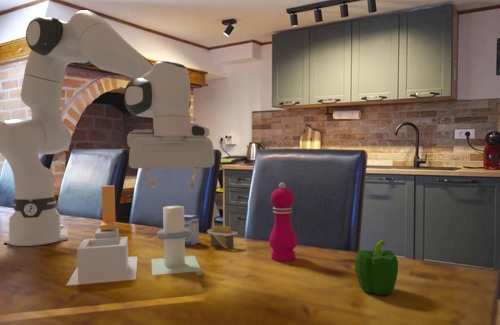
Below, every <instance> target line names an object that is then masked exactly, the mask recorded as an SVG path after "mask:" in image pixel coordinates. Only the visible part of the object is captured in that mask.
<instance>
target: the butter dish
mask: <svg viewBox="0 0 500 325" xmlns="http://www.w3.org/2000/svg"><path fill="white" fill-rule="evenodd" d="M206 231H207V232H206V233H207V234H208V235H210V245H211V246H213V247H214V246H215V247H223V249H228V248H230V249H231V248H232V249H234V245H235V244H234V243H235V242H234V236H235V235H238V231H233V230H232V229H231V226H227V225H226V226H225V225H216V224H215V225H213V226H211V228H208V229H207V230H206Z"/></svg>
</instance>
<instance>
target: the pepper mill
mask: <svg viewBox="0 0 500 325" xmlns="http://www.w3.org/2000/svg"><path fill="white" fill-rule="evenodd" d="M270 201H271V204H272V205H273V207H272V209H273V211H272V213H274V225H273V228H272V231H271V232H270V235H269V238H268V240H269V242H268V244H269V246H270V247H271V249H272V250H271V251H270V258H271V260H273V261H276V262H283V263H284V262H291V261H294V260H295V259H296V252H295V250H294V249H295V248H296V246H297V245H298V240H297V235H296V234H295V231H294V229H293V226H292V222H291V221H292V220H291V215H292V214H291V213H293V210H292V209H293V207H292V204H293V203H294V201H295V196H294V193H293V191H291V190H290V189H288V188H286V183H285V182H280V183H279V184H278V188H277V189H275V190H274V191H273V192H272V193H271V196H270Z"/></svg>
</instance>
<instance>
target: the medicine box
mask: <svg viewBox="0 0 500 325" xmlns="http://www.w3.org/2000/svg"><path fill="white" fill-rule="evenodd" d="M199 225H200V224H199V215H196V214H195V215H193V214H184V227H185V228H187V229H190V230H191V235H190V236H188V237H185V246H193V245H196V244H198V243H200V238H199V235H200V234H199V233H200V231H199V230H200V229H199Z"/></svg>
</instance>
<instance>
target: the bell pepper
mask: <svg viewBox="0 0 500 325" xmlns="http://www.w3.org/2000/svg"><path fill="white" fill-rule="evenodd" d="M385 244H386V240H382V239H381V240H379V241H377V243H376V244H375V247H374V248H373V249H368V250H366V249H359V250H357V254H356V256H355V259H354V263H355V264H354V266H355V274H356V278H357V281H358V284H359V287H360V288H361V290H362V291H364V292H365V293H371V294H376V295H381V296H386V295H387V296H388V295H390V294H392V293H393V291H394V290H395V286H396V284H397V283H396V282H397V277H398V272H399V260H398V258H397V256H396V255H395V254H394V252H393V251H392V250H390V249H387V250H381V248H382V246H384V245H385Z"/></svg>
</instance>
